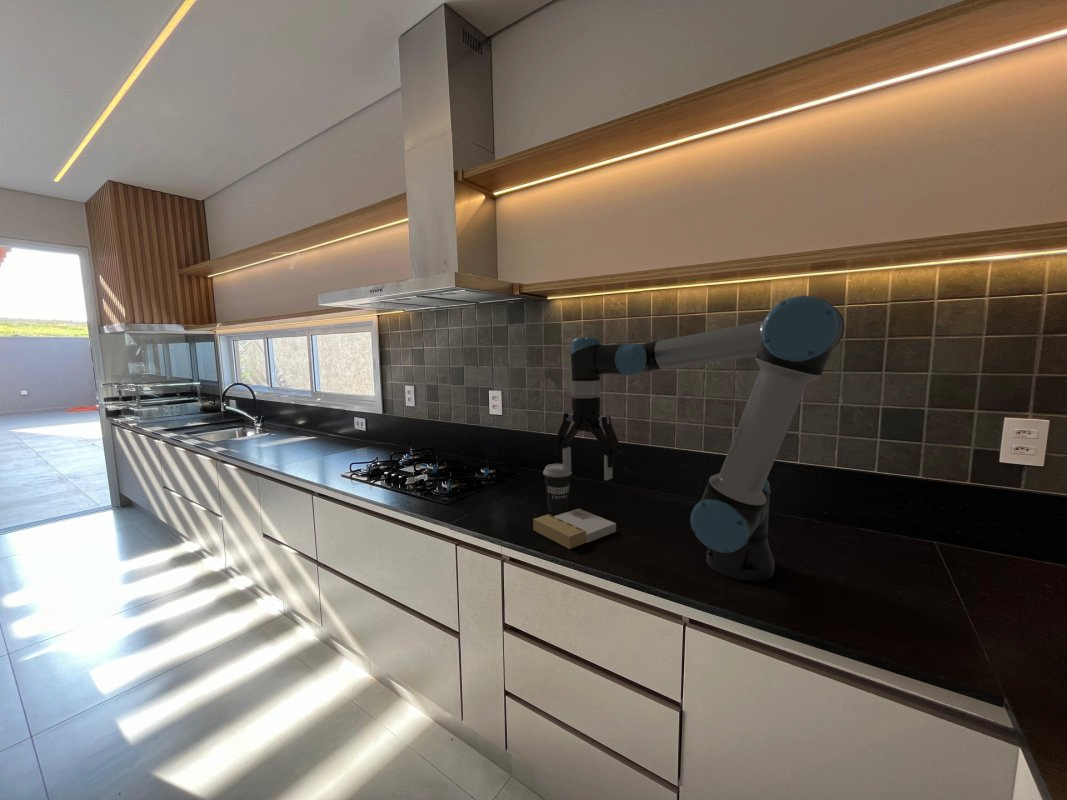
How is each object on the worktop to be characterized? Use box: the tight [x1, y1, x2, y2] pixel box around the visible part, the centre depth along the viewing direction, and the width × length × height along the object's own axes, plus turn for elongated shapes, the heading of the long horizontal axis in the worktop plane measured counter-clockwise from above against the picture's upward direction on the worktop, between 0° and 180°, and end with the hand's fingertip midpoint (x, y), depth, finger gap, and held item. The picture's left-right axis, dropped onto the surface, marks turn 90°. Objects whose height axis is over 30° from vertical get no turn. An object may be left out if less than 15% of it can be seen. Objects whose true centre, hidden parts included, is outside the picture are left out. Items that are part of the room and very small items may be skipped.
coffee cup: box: [542, 463, 573, 515], centre depth 146 cm, size 10×10×15 cm
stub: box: [532, 513, 586, 550], centre depth 125 cm, size 16×6×4 cm, turn 38°
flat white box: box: [553, 508, 617, 544], centre depth 131 cm, size 16×12×3 cm
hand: (586, 474), depth 118 cm, fingers open, 13 cm apart
